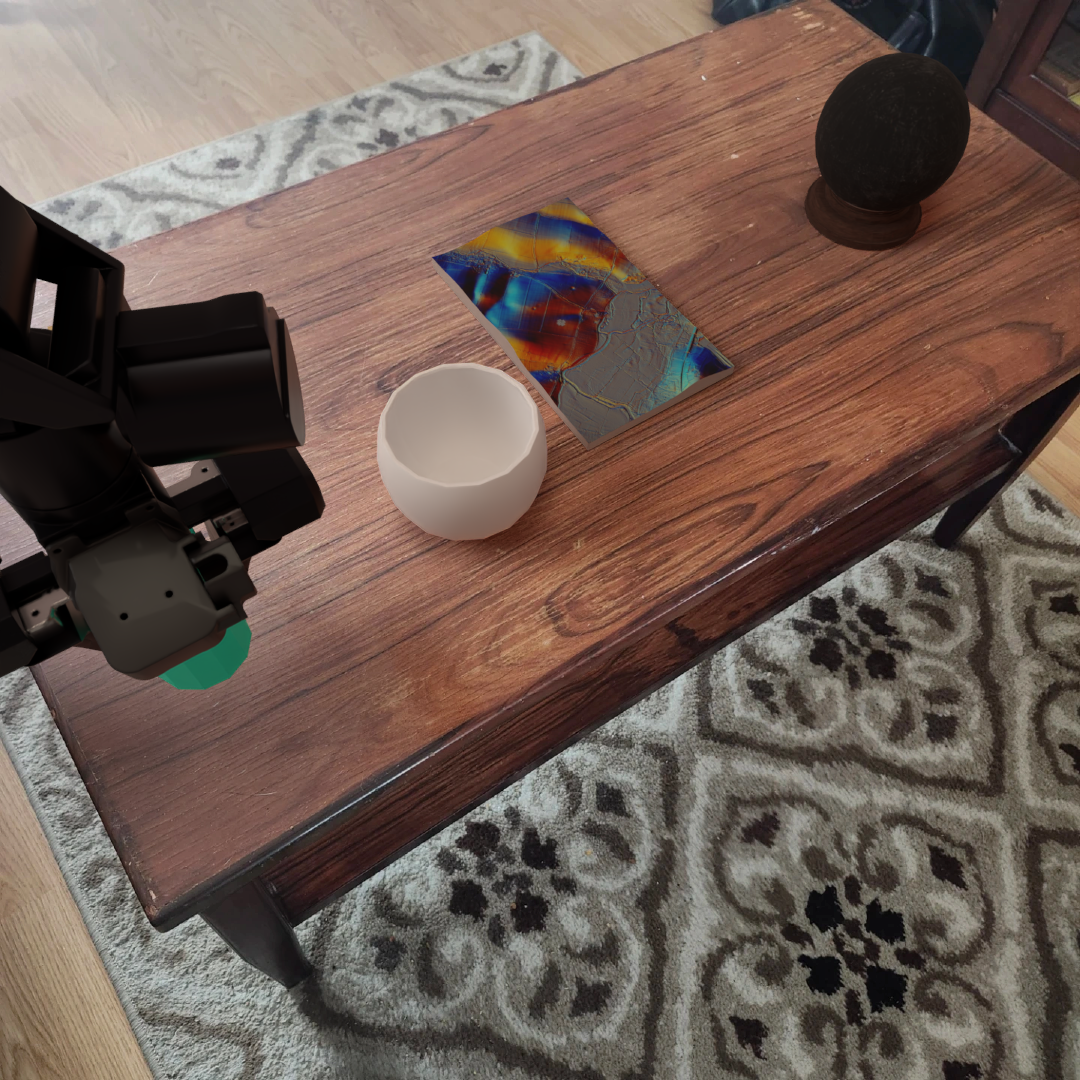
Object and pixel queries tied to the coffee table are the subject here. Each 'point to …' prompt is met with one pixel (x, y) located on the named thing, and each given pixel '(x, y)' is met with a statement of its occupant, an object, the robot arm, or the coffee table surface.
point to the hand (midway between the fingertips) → (181, 618)
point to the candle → (212, 660)
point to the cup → (462, 450)
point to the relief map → (581, 321)
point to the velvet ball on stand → (886, 149)
